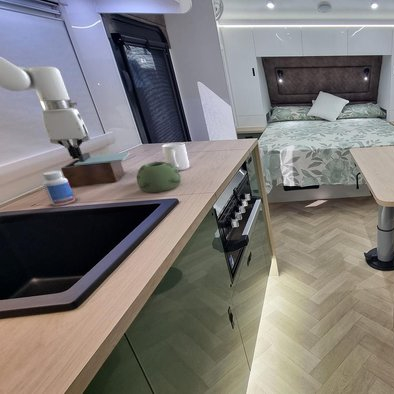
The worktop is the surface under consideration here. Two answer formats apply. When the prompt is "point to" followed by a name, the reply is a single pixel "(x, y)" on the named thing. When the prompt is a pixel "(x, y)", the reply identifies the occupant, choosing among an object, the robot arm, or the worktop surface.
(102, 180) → the box
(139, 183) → the green planter pot
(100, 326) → the worktop surface
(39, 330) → the worktop surface
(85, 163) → the sliding box lid
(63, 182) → the pill bottle
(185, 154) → the mug
